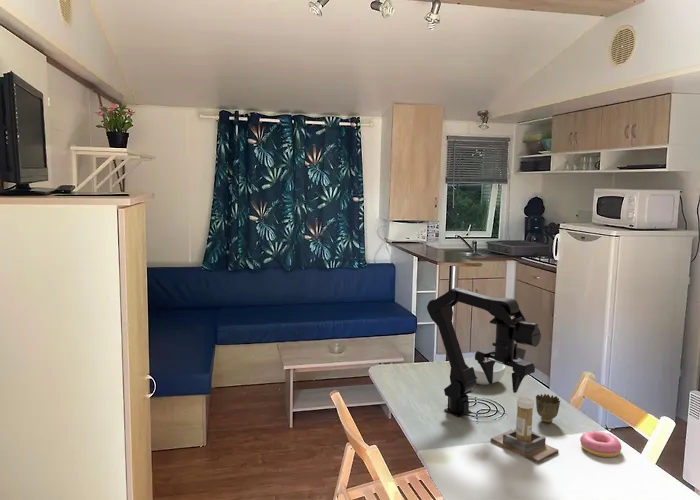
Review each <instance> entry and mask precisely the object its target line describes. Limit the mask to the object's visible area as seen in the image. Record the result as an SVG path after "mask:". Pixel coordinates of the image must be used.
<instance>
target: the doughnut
mask: <svg viewBox="0 0 700 500" xmlns="http://www.w3.org/2000/svg"><path fill="white" fill-rule="evenodd" d="M579 441H580V446H581V447H582V449H584V450H585V451H586V452H588V453H589V454H591V455H594V456H597V457H601V458H613V457H617V456H618V455H619V454H620V453H621V450H622V449H623V447H622V444H621V441H620V440H619V438H617V437H615V436H614V435H612V434H610V433H606V432H602V431H596V430H595V431H594V430H591V431H587V432H584V433H582V435H581V436H580V439H579Z"/></svg>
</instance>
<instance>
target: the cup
mask: <svg viewBox="0 0 700 500" xmlns="http://www.w3.org/2000/svg"><path fill="white" fill-rule="evenodd" d="M560 404H561V400H560V398H559V397H558V396H554V395H553V394H552V395H551V396H550V395H549V394H546V393H544V394H542V393H541V394H536V395H535V405H536V406H535V407H536V413H537V415H539V416H540V420H541V422H542V423H545V424H552V423H553V420H554V418H556V417H557V416H558V414H559V409H560Z"/></svg>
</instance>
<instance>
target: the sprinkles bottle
mask: <svg viewBox="0 0 700 500" xmlns="http://www.w3.org/2000/svg"><path fill="white" fill-rule="evenodd" d="M534 405H535V402H534V400H533V399H531V397H526V396H525V397H524V396H521V397H518V398H517V401H516V407H517V408H516V410H517V411H516V423H515V429H516V438H517V439H519V440H521V441H524V442H526V443H529V442H531V434H532V432H533V431H532V429H533V412H534V411H533V409H534Z"/></svg>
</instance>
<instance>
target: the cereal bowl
mask: <svg viewBox="0 0 700 500" xmlns="http://www.w3.org/2000/svg"><path fill="white" fill-rule="evenodd" d="M464 361H465V364H466V365H467V366H468V367H469V368H471V367H473V368H474V372H475V375H476V377H477V379H476V382H477V384H476V385H482V386H485V385H486V386H487V385H490V384H489V382H488V380H487V378H486V375H485V373H484V371H483V369H482V367H481V366H480V364H479V363H478V361H477V360H475V356H473V357H472V356H471V357H466V358H464ZM505 371H506V365H504V364H501V363H497V362H495V364H494V366H493V381H492V384H494V383H497V382H499V381H501V380H502V379H503V378H504V376H505Z"/></svg>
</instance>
